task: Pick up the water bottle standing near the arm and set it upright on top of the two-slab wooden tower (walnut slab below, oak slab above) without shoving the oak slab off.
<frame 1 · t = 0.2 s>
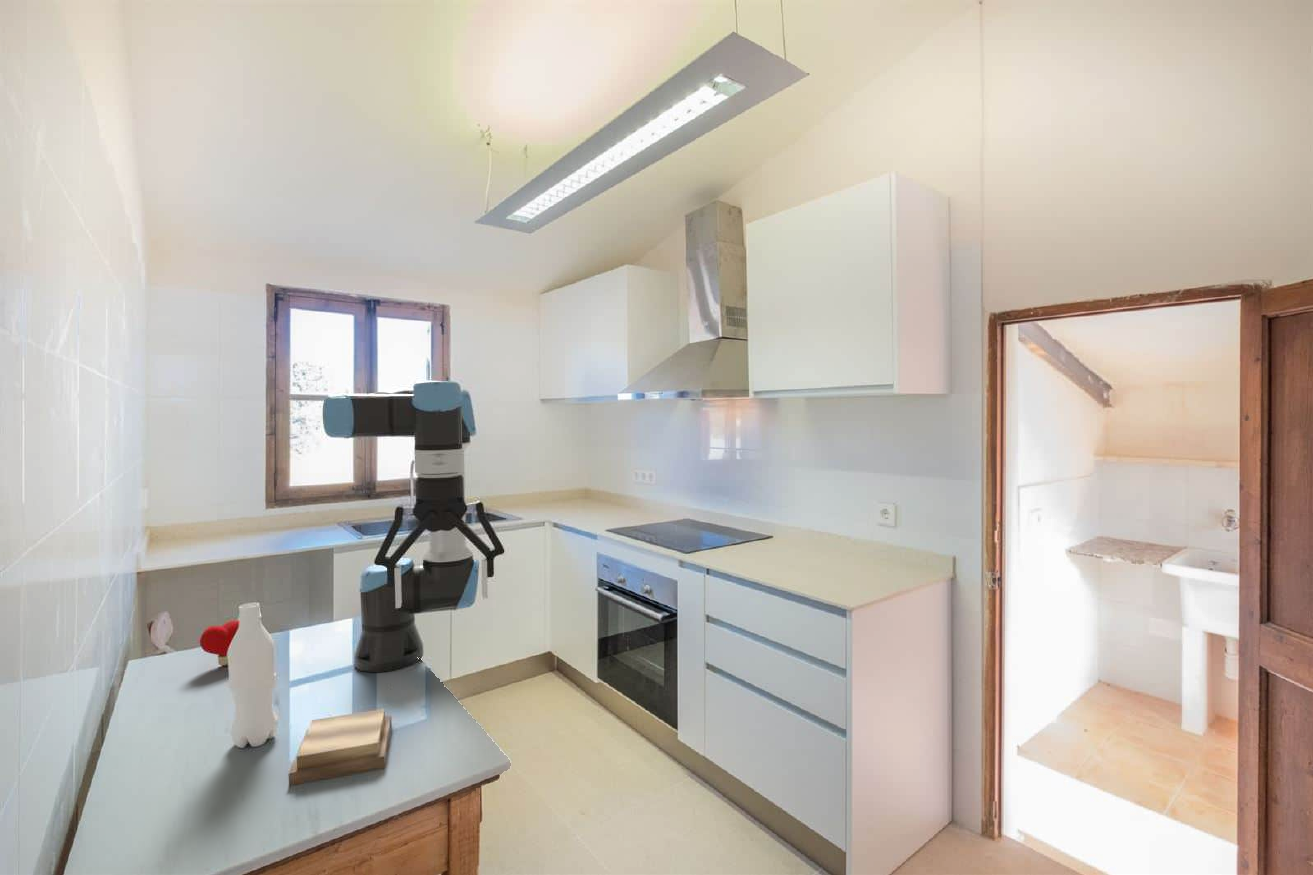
hand: (442, 600, 101), 28 cm above the counter, fingers open, 13 cm apart
oak slab: (344, 742, 105), point 2 cm above the counter, touching walnut slab
water bottle: (255, 741, 110), on the counter
walnut slab: (344, 753, 106), on the counter
red heart on stem: (225, 666, 141), on the counter
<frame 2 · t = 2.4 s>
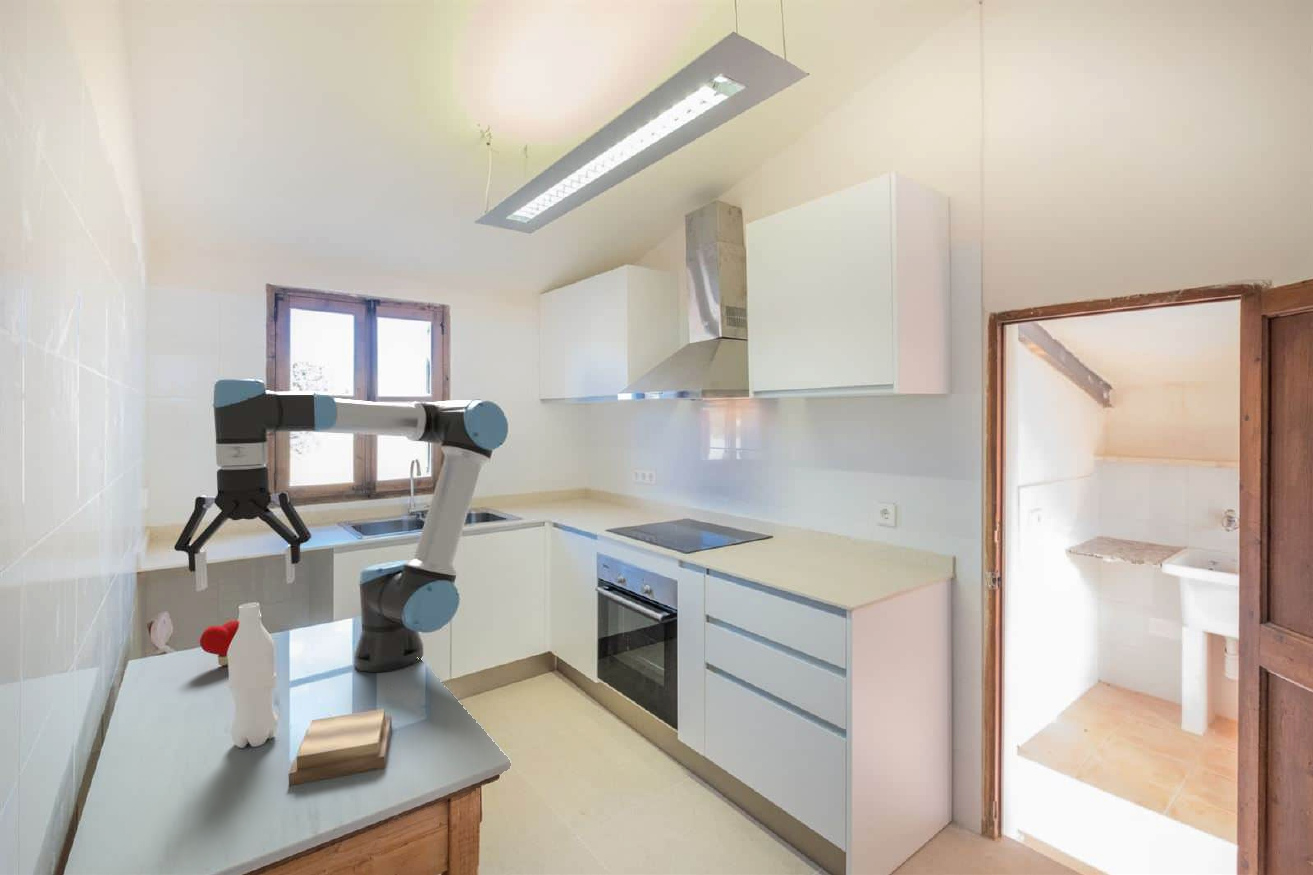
hand: (247, 585, 108), 29 cm above the counter, fingers open, 13 cm apart
nothing on the counter moved.
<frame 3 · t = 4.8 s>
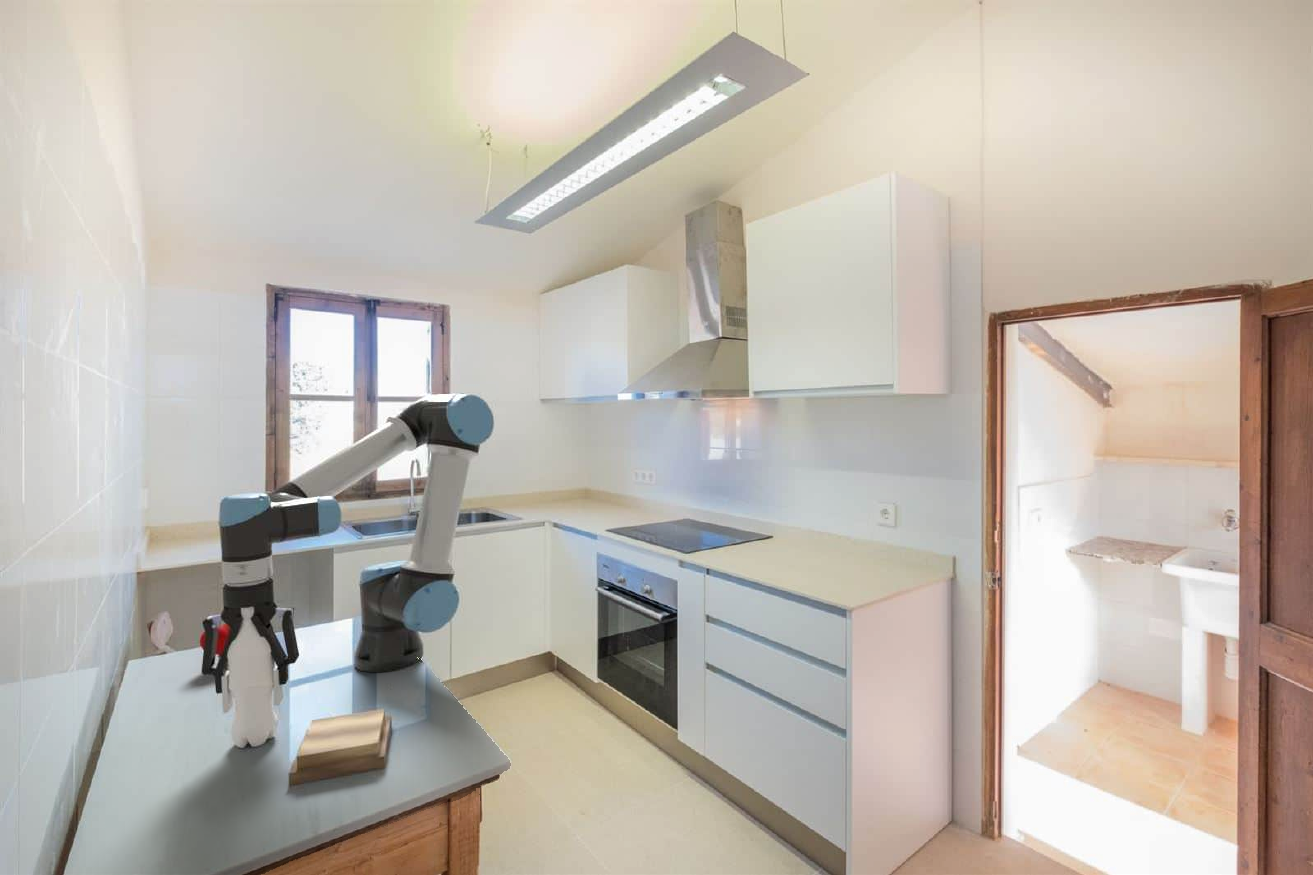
hand: (253, 705, 109), 7 cm above the counter, fingers closed on water bottle, 7 cm apart
water bottle: (255, 741, 110), on the counter, touching gripper
everything else where it was.
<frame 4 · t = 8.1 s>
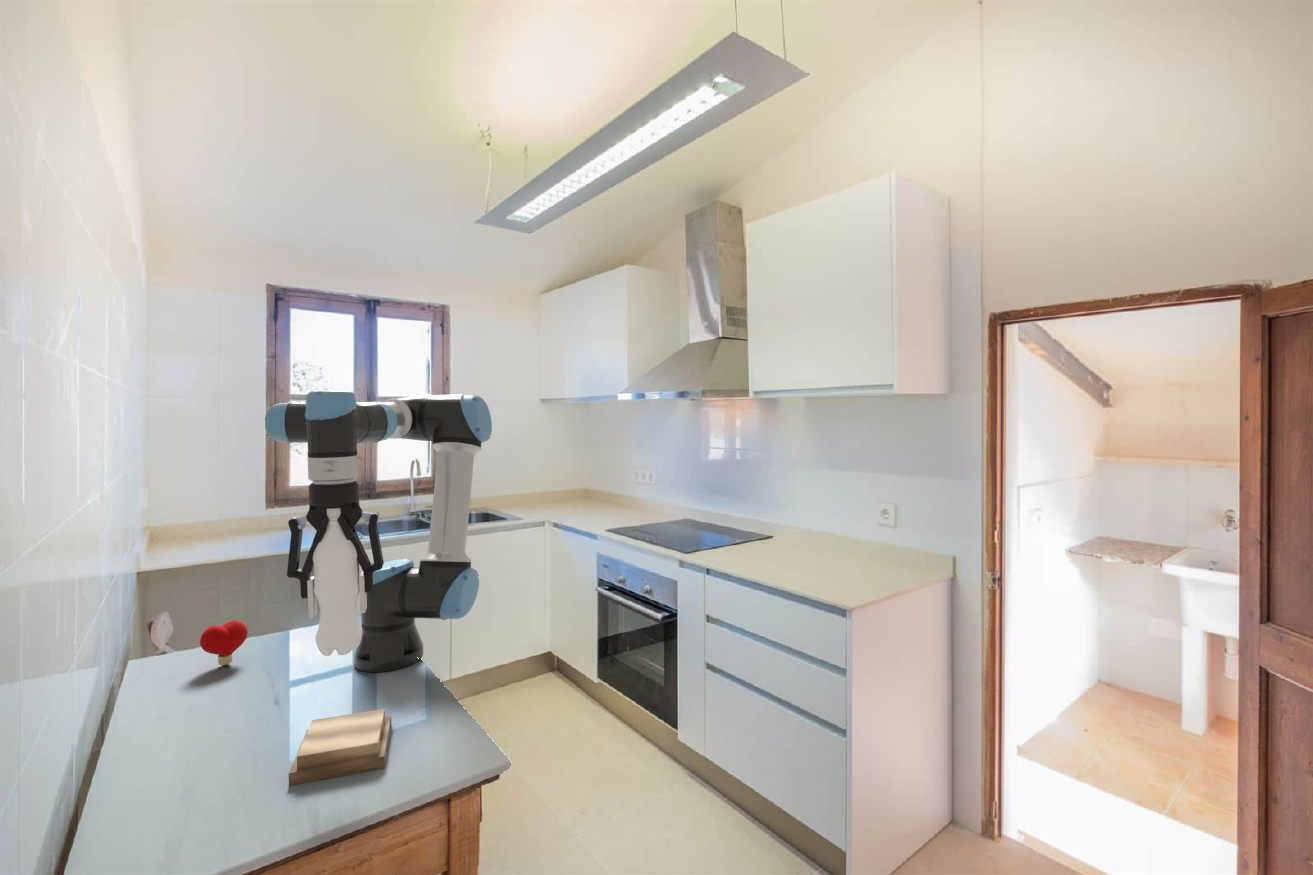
hand: (338, 613, 104), 25 cm above the counter, fingers closed on water bottle, 7 cm apart
water bottle: (339, 651, 104), point 18 cm above the counter, touching gripper
everything else where it was.
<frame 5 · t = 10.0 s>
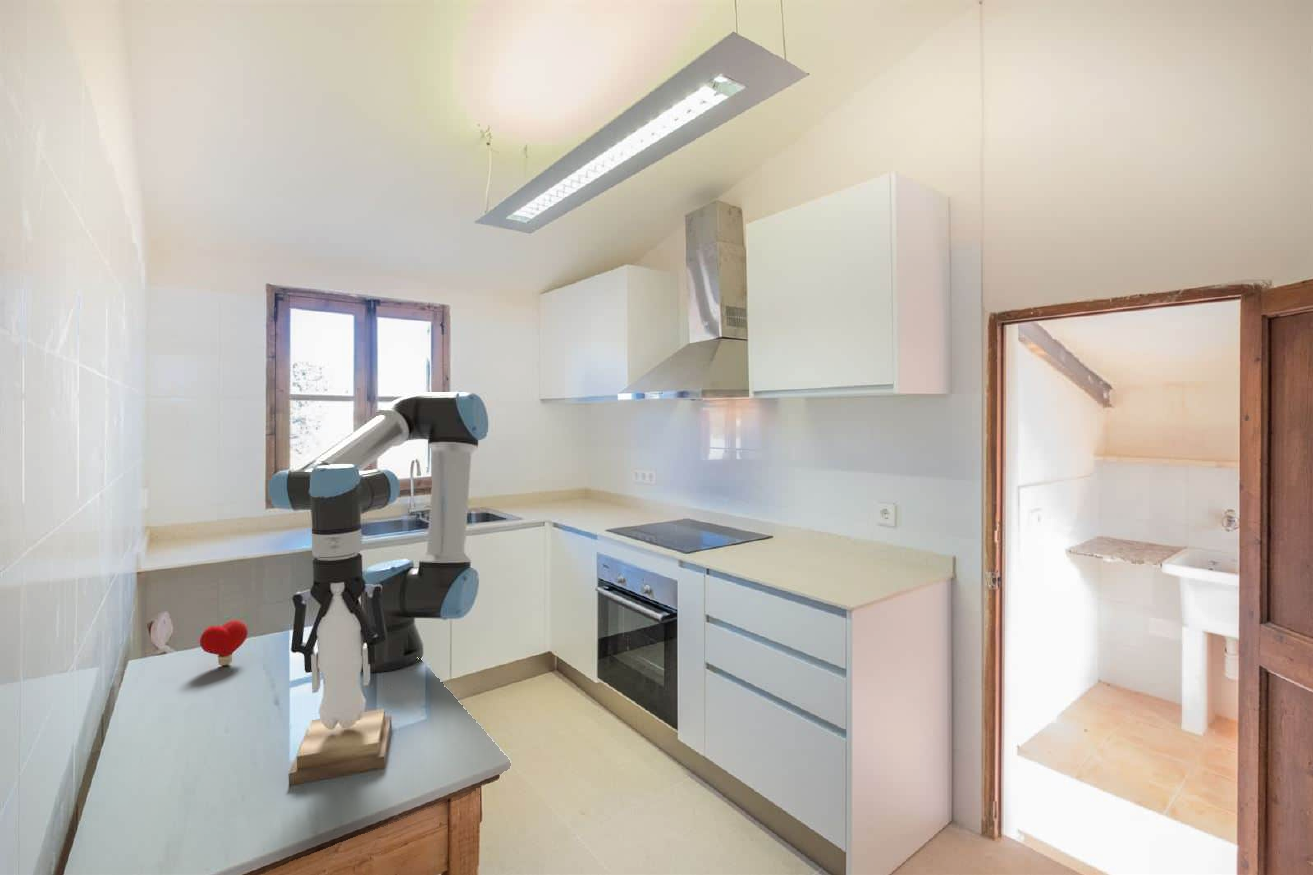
hand: (342, 685, 105), 12 cm above the counter, fingers closed on water bottle, 7 cm apart
water bottle: (343, 723, 105), point 5 cm above the counter, touching gripper
everything else where it was.
when the fingers open (11 cm above the counter, at t = 11.5 s): water bottle stays where it is, resting on oak slab.
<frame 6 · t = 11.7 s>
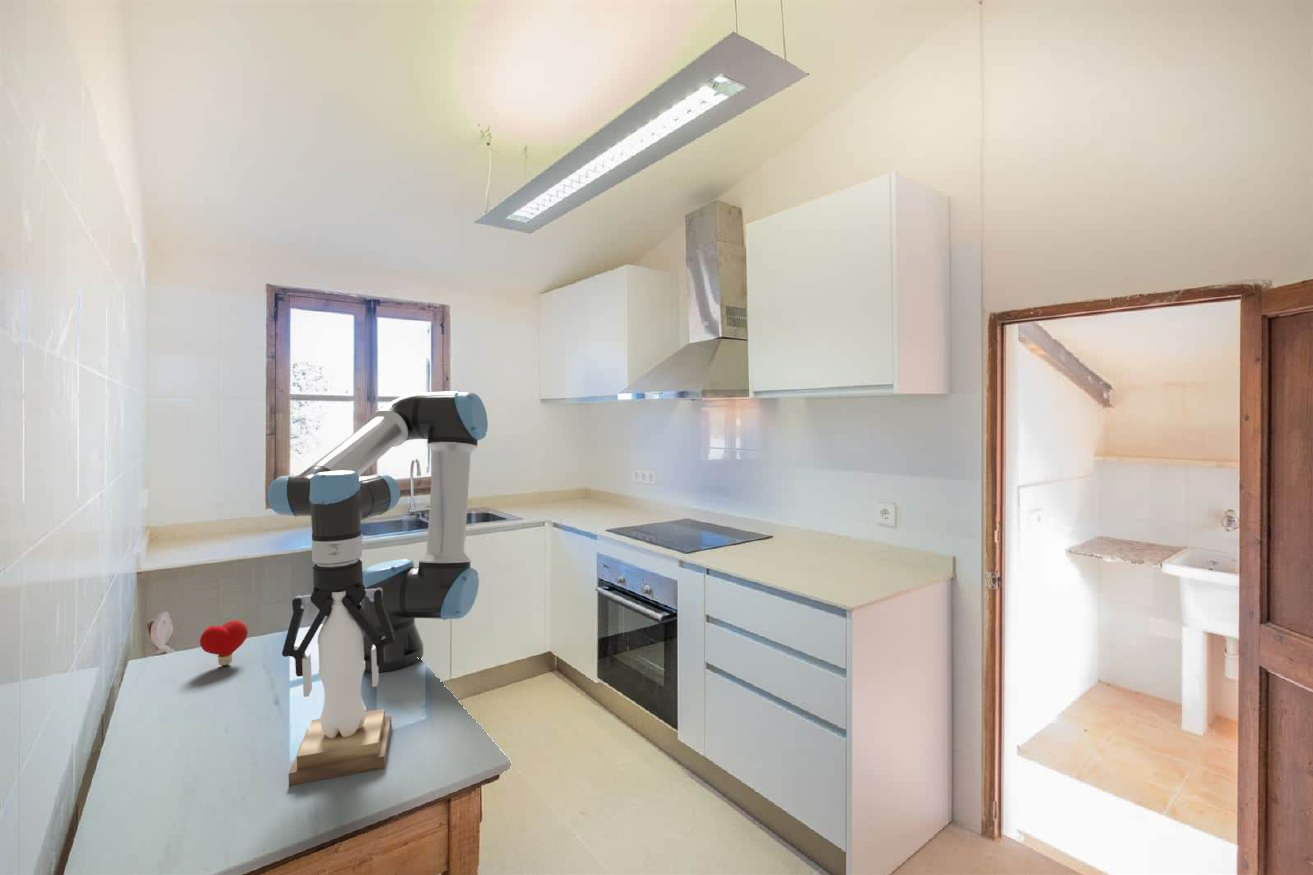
hand: (342, 688, 105), 12 cm above the counter, fingers open, 10 cm apart
oak slab: (344, 742, 105), point 2 cm above the counter, touching walnut slab, water bottle
water bottle: (344, 732, 105), point 4 cm above the counter, touching oak slab
everything else where it was.
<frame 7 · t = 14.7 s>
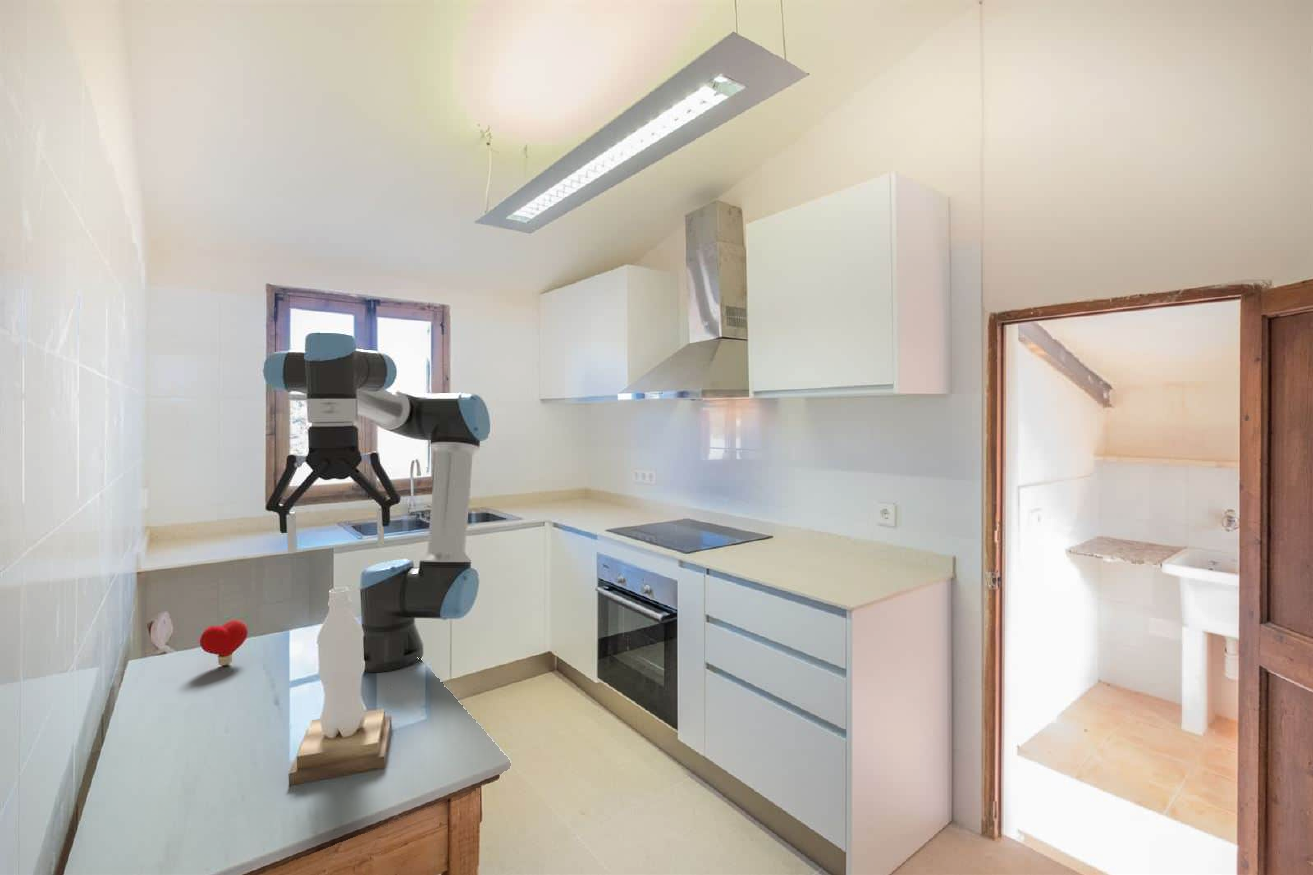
hand: (337, 548, 104), 36 cm above the counter, fingers open, 13 cm apart
nothing on the counter moved.
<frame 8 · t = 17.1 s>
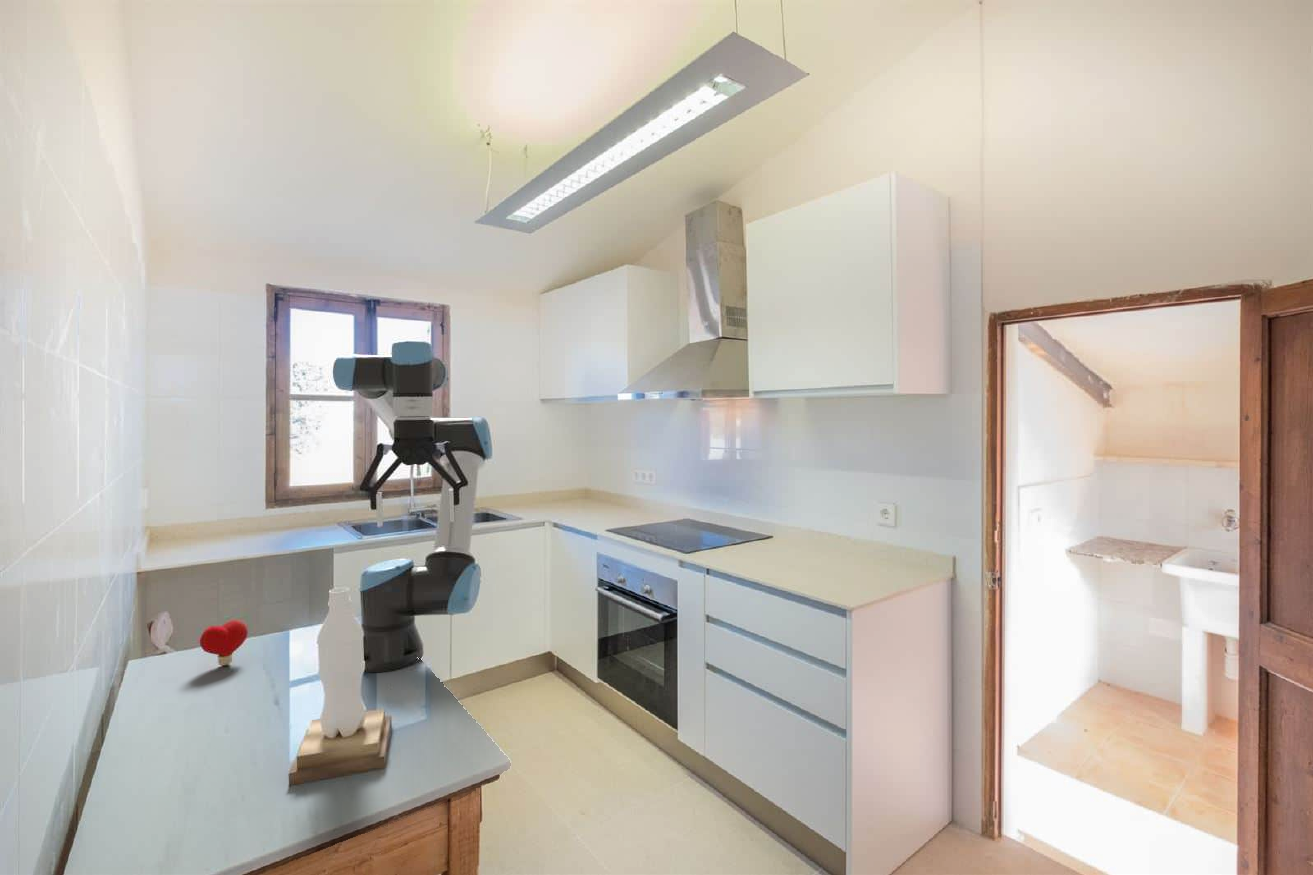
hand: (416, 523, 122), 37 cm above the counter, fingers open, 13 cm apart
nothing on the counter moved.
at the end: water bottle inside the target area on the oak slab (0.0 cm from its centre), point 1.8 cm above the oak slab's base; water bottle tilted 0°; oak slab moved 0.0 cm from its start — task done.
